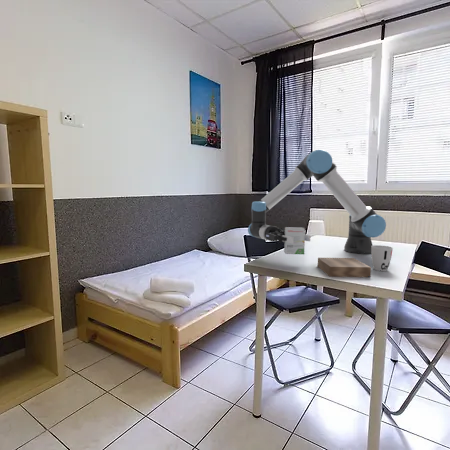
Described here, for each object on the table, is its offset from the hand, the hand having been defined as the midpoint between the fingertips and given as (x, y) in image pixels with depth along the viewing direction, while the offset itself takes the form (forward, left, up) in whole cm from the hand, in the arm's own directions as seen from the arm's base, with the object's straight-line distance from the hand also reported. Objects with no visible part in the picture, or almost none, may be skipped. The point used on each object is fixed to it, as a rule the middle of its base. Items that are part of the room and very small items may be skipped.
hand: (301, 239), depth 131 cm
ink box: (+2, -4, -7) cm, 9 cm away
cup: (-34, +3, -13) cm, 36 cm away
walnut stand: (-16, +7, -12) cm, 21 cm away
